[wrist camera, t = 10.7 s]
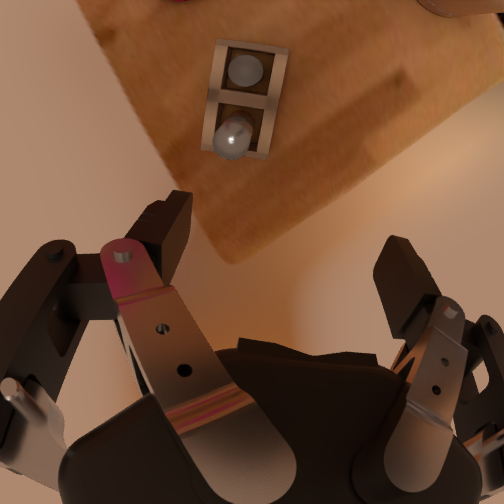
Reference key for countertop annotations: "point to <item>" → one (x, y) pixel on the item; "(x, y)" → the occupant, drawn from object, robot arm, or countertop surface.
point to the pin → (234, 135)
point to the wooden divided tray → (243, 74)
